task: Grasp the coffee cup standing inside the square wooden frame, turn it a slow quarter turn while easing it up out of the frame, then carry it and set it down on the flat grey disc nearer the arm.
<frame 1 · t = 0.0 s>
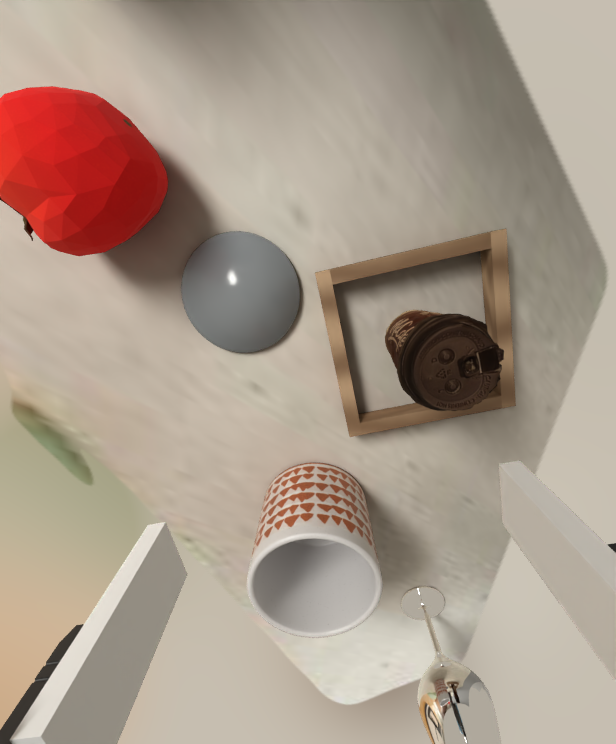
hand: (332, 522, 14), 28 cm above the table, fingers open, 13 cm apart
coffee cup: (413, 337, 40), resting in square wooden frame
square wooden frame: (414, 337, 40), on the table
flat grey disc: (241, 294, 39), on the table
tomato: (115, 190, 36), on the table
planter: (314, 504, 47), on the table
wineglass: (422, 601, 52), on the table
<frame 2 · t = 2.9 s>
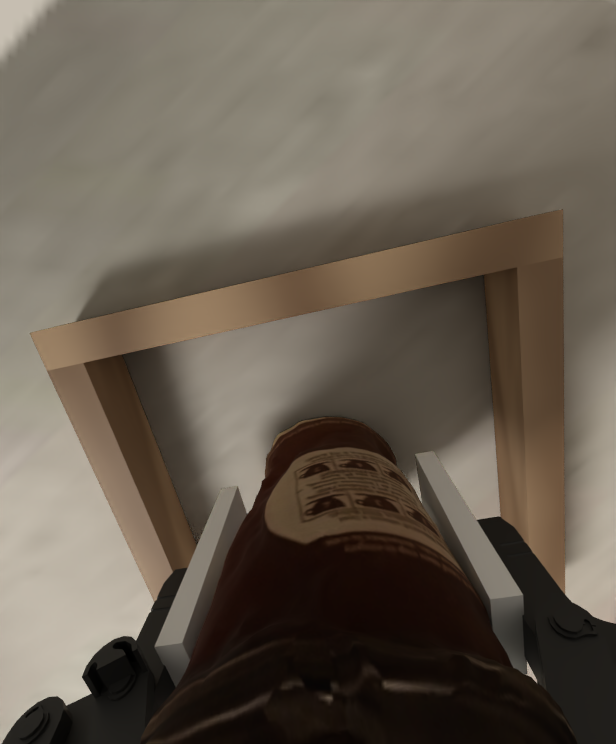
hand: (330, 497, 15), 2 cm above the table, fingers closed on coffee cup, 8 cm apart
coffee cup: (330, 465, 17), resting in square wooden frame, touching gripper
square wooden frame: (329, 468, 17), on the table
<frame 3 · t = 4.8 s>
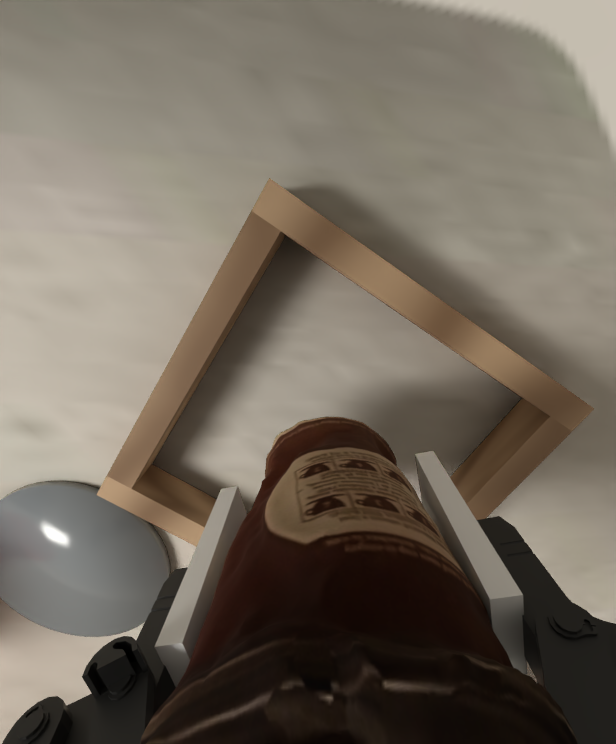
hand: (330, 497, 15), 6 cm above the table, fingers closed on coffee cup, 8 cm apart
coffee cup: (330, 465, 17), point 4 cm above the table, touching gripper
square wooden frame: (328, 432, 21), on the table
flat grey disc: (78, 560, 24), on the table
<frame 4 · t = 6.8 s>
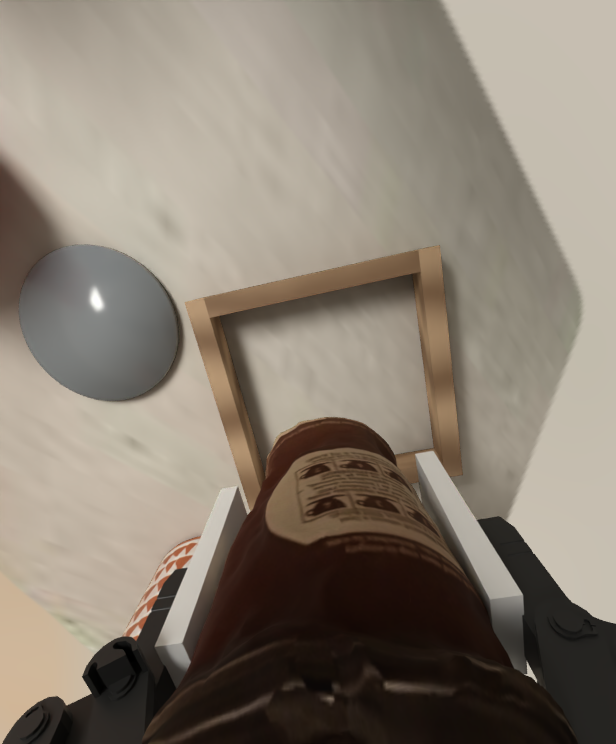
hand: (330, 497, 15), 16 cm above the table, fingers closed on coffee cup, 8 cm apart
coffee cup: (330, 466, 17), point 13 cm above the table, touching gripper
square wooden frame: (331, 384, 30), on the table
flat grey disc: (102, 326, 29), on the table
planter: (222, 582, 38), on the table
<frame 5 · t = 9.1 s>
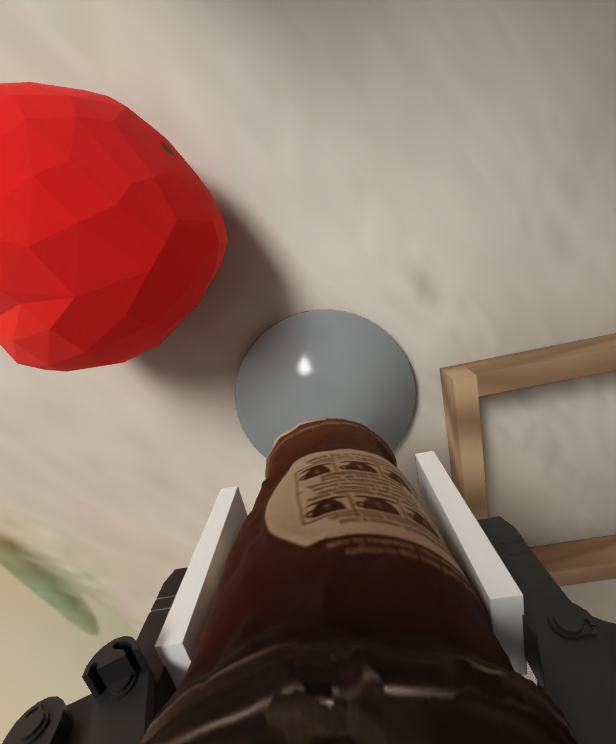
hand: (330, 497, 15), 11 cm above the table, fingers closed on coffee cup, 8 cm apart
coffee cup: (330, 467, 17), point 9 cm above the table, touching gripper
square wooden frame: (577, 458, 27), on the table
flat grey disc: (324, 397, 26), on the table
tomato: (136, 247, 23), on the table
when the fingers open (3 cm above the table, at t = 10.9 s): coffee cup stays where it is, resting on flat grey disc.
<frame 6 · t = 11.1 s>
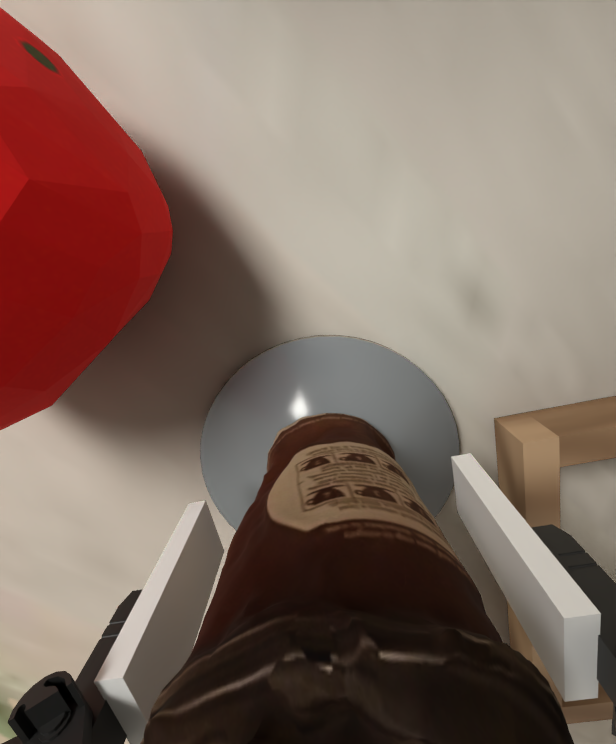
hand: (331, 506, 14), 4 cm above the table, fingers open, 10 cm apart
coffee cup: (330, 461, 18), resting on flat grey disc
flat grey disc: (328, 457, 18), on the table
tomato: (49, 243, 15), on the table
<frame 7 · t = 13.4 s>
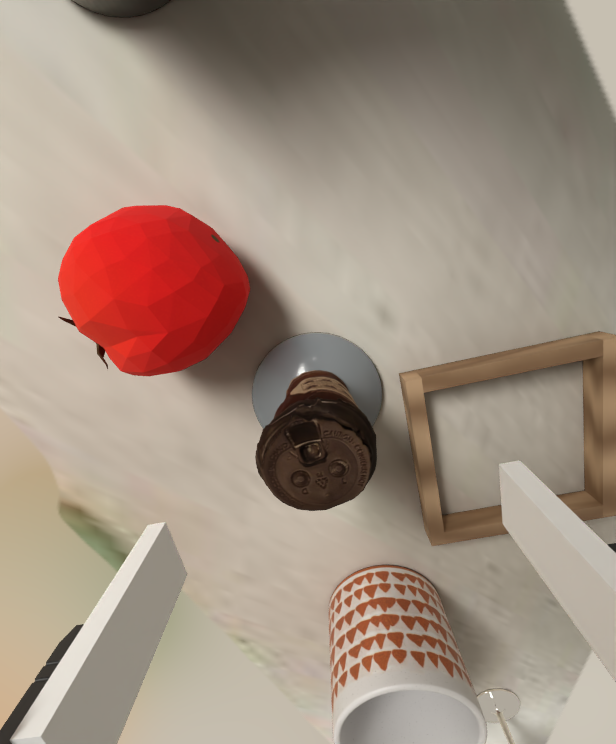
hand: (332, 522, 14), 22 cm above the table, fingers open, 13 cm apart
coffee cup: (317, 396, 35), resting on flat grey disc
square wooden frame: (503, 439, 36), on the table
flat grey disc: (316, 395, 35), on the table
tomato: (184, 290, 33), on the table
planter: (383, 605, 43), on the table
wineglass: (494, 703, 47), on the table
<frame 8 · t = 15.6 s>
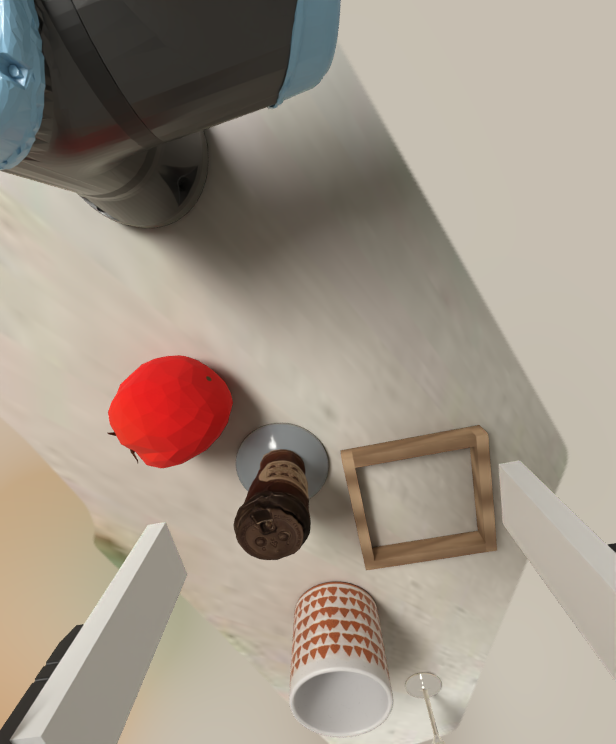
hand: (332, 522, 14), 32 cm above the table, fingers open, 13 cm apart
coffee cup: (282, 465, 49), resting on flat grey disc
square wooden frame: (417, 495, 50), on the table
flat grey disc: (282, 464, 49), on the table
tomato: (187, 393, 47), on the table
planter: (335, 610, 58), on the table
wineglass: (423, 683, 62), on the table
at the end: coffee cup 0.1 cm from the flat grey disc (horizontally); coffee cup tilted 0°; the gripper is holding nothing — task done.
